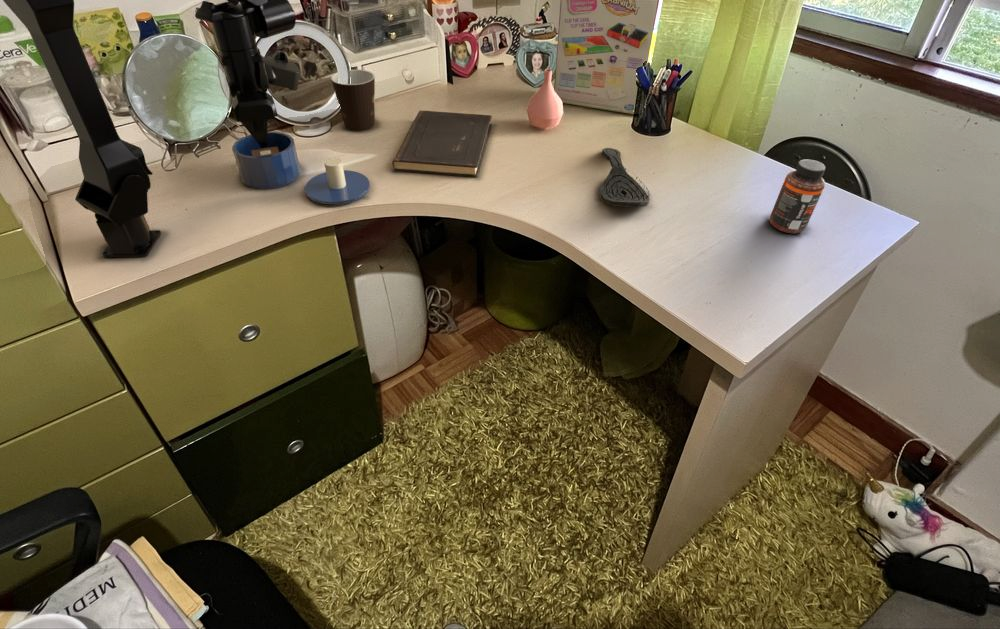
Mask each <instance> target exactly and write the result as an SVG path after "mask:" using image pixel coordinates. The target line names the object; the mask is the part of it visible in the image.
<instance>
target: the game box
mask: <svg viewBox="0 0 1000 629" xmlns="http://www.w3.org/2000/svg"><path fill="white" fill-rule="evenodd" d="M559 2H560V4H559V5H560V6H559V18H558V29H557V30H558V32H557V44H556V59H555V70H554V82H553V83H554V84H553V88H554V91H555V93H556V94H557V95H558V96H559V98H560V99H561V100H562V104H568V105H573V106H578V107H585V108H589V109H590V108H591V109H596V110H603V111H609V112H616V113H623V114H629V115H634V112H633V110H634V105H635V100H636V94H637V85H636V70H637V68H638V67H640V66H642V64H643V63H644V62H645V61H648V62H649V63H650V65H652V60H653V54H654V49H655V44H656V39H657V33H658V29H659V28H658V27H659V24H660V17H661V11H662V6H663V0H560V1H559Z"/></svg>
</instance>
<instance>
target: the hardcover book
mask: <svg viewBox="0 0 1000 629" xmlns="http://www.w3.org/2000/svg"><path fill="white" fill-rule="evenodd" d="M492 118H493V115H491V114H480V113H479V114H478V113H466V112H465V113H463V112H452V111H451V112H448V111H434V110H421V109H420V110H419V111H418V113H417V114H416V116H415V118H414V120H413V122H412V124H411V125H410V128H409V129H408V131H407V133H406V136H405V137H404V139H403V141H402V143H401V145H400V147H399V149H398V151H397V153H396V155H395V157H394V159H393V160H392V162H391V163H392V164H391V165H392V169H393V170H394V171H395V172H400V173H401V172H402V173H403V172H404V173H413V174H414V173H415V174H429V175H443V176H452V177H453V176H455V177H467V178H478V176H479V172H480V168H481V165H482V162H483V159H484V158H483V157H484V154H485V150H486V147H487V143H488V140H489V136H490V132H491V129H492V126H493V125H492V123H491V120H492Z"/></svg>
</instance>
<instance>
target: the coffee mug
mask: <svg viewBox="0 0 1000 629" xmlns="http://www.w3.org/2000/svg"><path fill="white" fill-rule="evenodd" d="M348 70H349V71H350V77H351V84H341V83H338V78H339V77H338V76H339V73H338V72H339V71H338V72H337V71H336V72H335V73H333V74H332V75H331V76H330V79H331V83H332V87H333V91H334V94H335V97H337V98H336V101H337V100H338V101H337V104H338V103H339V104H340V106H341V109H340V108H339V112H340V115H341V118H342V122H343V126H344V128H345V129H346V130H348V131H351V132H362V131H363V132H364V131H368V130H371V129H372V128H373V127H375V126H376V84H375V83H376V81H375V80H376V79H375V78H376V76H375V74H374V73H373V72H371V71H370V70H365V69H357V68H356V69H355V68H354V69H352V68H351V69H348Z"/></svg>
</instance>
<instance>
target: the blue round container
mask: <svg viewBox="0 0 1000 629" xmlns="http://www.w3.org/2000/svg"><path fill="white" fill-rule="evenodd" d="M276 146H277V147H278V150H279V153H277V154H273V155H269V156H262V157H253V156H252V152H251V150H257V149H264V148H270V147H276ZM264 148H261V147H260V145H259V144H258V143H257V142H256V140H255V139H254V138H253V137H252V135H251V134H250V133H249V134H247V135H245V136H242V137H241V138H238V139H237V140H236V141H235V142H234V143H233V145H232V153H233V156H234V159H235V163H236V166H237V169H238V172H239V173H238V174H239V176H240V179H241V182H242V183H243V184H244V185H245V186H247V187H249V188H253V189H259V190H272V189H278V188H282V187H286V186H288V185H290V184H292V183H294V182H295V181H296V180H298V179H299V177H300V176H301V173H302V171H301V170H302V169H301V165H300V160H299V156H298V152H297V148H296V143H295V139H294V138H293V137H292V136H291V135H290V134H288V133H285V132H279V131H268V146H267V147H264Z"/></svg>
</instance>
